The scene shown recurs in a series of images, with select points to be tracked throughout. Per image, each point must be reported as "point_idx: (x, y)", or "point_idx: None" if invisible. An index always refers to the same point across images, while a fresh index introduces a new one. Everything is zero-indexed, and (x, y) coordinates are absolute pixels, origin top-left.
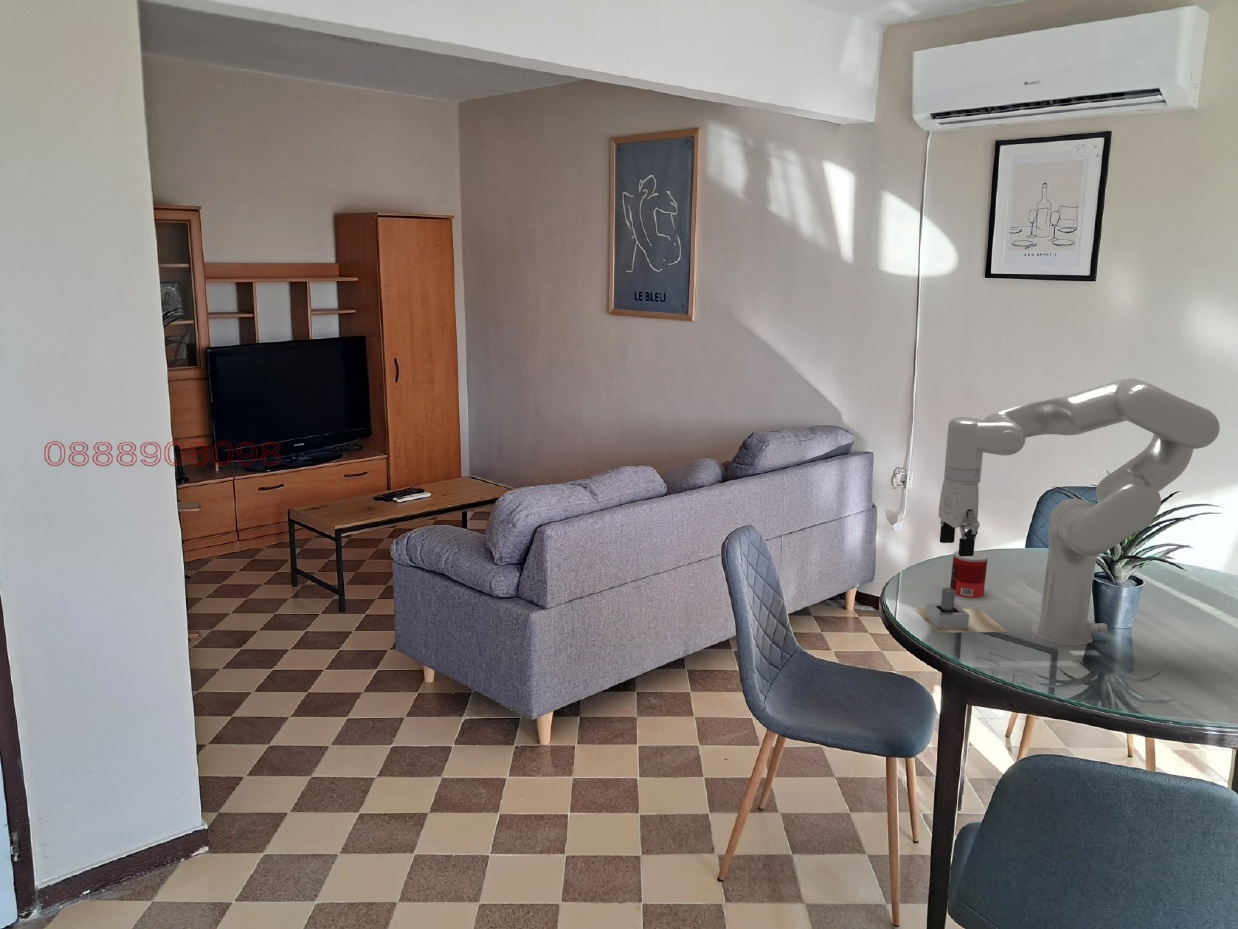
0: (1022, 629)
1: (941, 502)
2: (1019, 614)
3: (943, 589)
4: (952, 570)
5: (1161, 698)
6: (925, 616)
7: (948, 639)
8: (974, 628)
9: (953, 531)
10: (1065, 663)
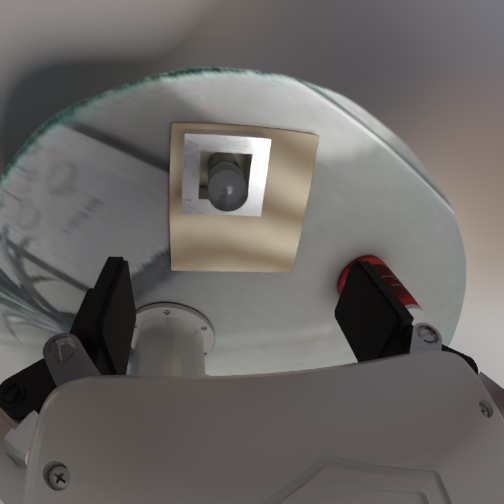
0: (207, 302)
1: (496, 469)
2: (271, 323)
3: (237, 179)
4: (398, 284)
5: (17, 335)
6: (261, 133)
7: (162, 143)
8: (189, 216)
9: (357, 349)
10: (76, 297)
